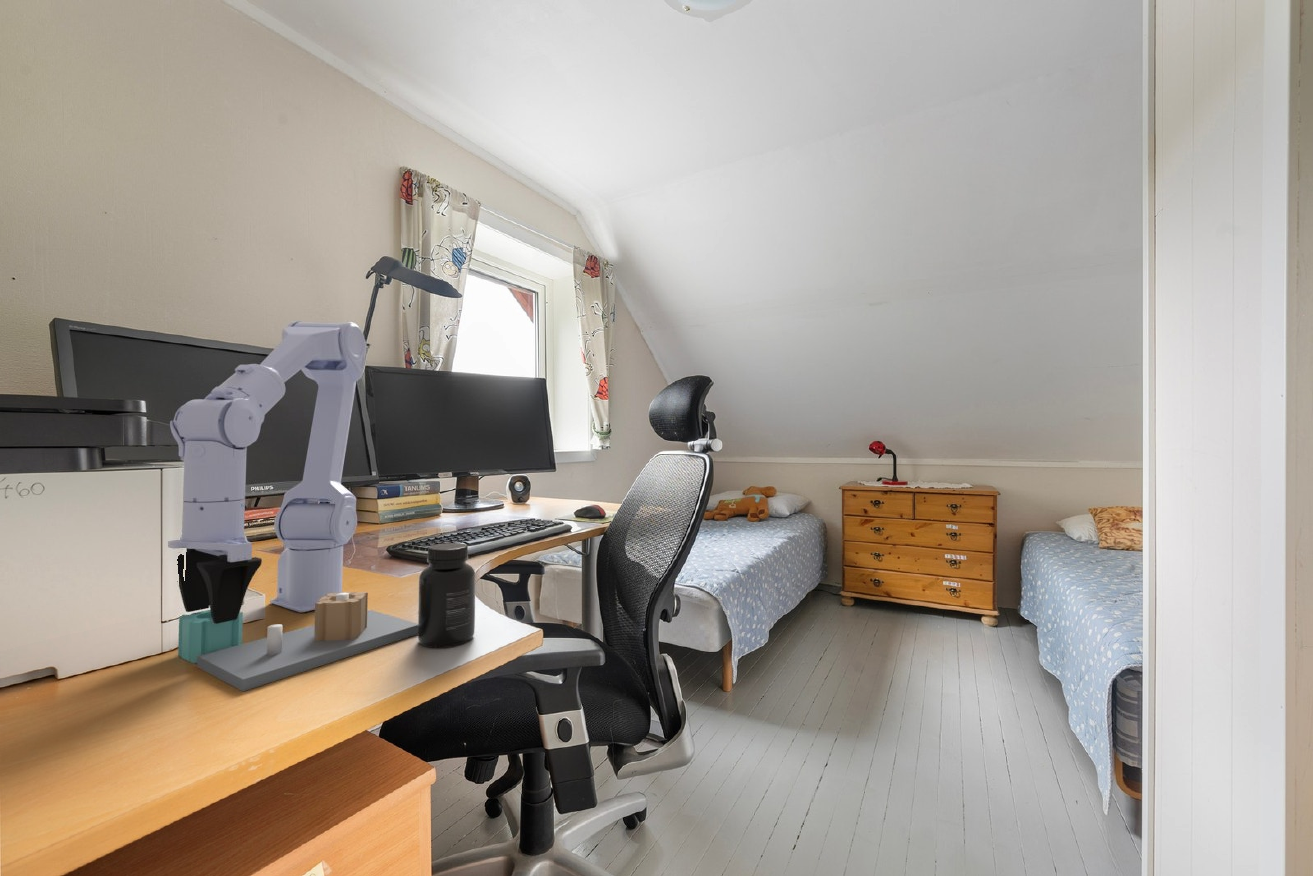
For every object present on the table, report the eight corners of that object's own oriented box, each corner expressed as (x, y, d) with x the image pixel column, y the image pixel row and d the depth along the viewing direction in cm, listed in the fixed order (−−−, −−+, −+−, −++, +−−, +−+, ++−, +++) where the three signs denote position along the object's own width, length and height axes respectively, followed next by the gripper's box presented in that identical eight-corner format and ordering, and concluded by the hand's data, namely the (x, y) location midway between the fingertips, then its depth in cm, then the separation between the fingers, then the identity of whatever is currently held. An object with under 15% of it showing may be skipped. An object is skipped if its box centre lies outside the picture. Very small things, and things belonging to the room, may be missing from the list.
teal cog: (175, 655, 63) (176, 616, 63) (225, 642, 67) (227, 606, 67) (193, 664, 60) (194, 624, 60) (244, 650, 64) (245, 612, 64)
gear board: (196, 666, 60) (198, 611, 60) (371, 618, 77) (372, 575, 77) (242, 691, 54) (244, 630, 54) (419, 633, 71) (420, 587, 71)
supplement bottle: (476, 628, 73) (479, 540, 73) (471, 647, 67) (473, 551, 67) (423, 631, 72) (425, 541, 72) (411, 651, 65) (414, 552, 65)
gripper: (147, 498, 64) (143, 613, 64) (198, 507, 57) (194, 637, 56) (218, 494, 70) (215, 599, 70) (273, 502, 63) (270, 619, 62)
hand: (211, 615), depth 63 cm, fingers open, 7 cm apart
